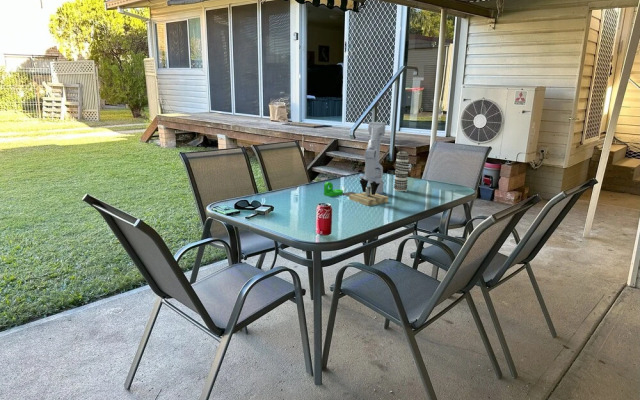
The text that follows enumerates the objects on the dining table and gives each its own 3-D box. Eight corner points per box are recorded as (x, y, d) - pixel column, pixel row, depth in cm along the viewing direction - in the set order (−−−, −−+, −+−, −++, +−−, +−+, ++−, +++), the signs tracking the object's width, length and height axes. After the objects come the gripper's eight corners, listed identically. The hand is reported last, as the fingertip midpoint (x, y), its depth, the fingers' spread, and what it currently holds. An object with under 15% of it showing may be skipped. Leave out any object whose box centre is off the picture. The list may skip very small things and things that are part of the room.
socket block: (369, 196, 262) (369, 191, 261) (388, 202, 249) (388, 197, 248) (349, 199, 252) (349, 194, 252) (367, 205, 240) (367, 200, 239)
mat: (351, 192, 271) (352, 191, 271) (362, 195, 264) (362, 194, 264) (339, 194, 266) (339, 193, 266) (350, 197, 258) (350, 196, 258)
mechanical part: (330, 197, 257) (330, 184, 255) (323, 195, 262) (323, 182, 260) (344, 193, 265) (345, 181, 263) (338, 192, 269) (338, 179, 267)
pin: (367, 199, 253) (368, 186, 251) (371, 200, 250) (372, 187, 248) (363, 200, 251) (364, 187, 249) (367, 201, 248) (368, 188, 246)
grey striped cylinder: (393, 191, 276) (395, 152, 270) (393, 188, 285) (395, 150, 279) (407, 192, 275) (410, 153, 269) (407, 189, 284) (410, 151, 277)
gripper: (356, 168, 250) (355, 191, 253) (373, 172, 238) (372, 196, 242) (365, 167, 254) (364, 190, 257) (382, 171, 242) (381, 195, 246)
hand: (368, 193), depth 250 cm, fingers open, 7 cm apart
